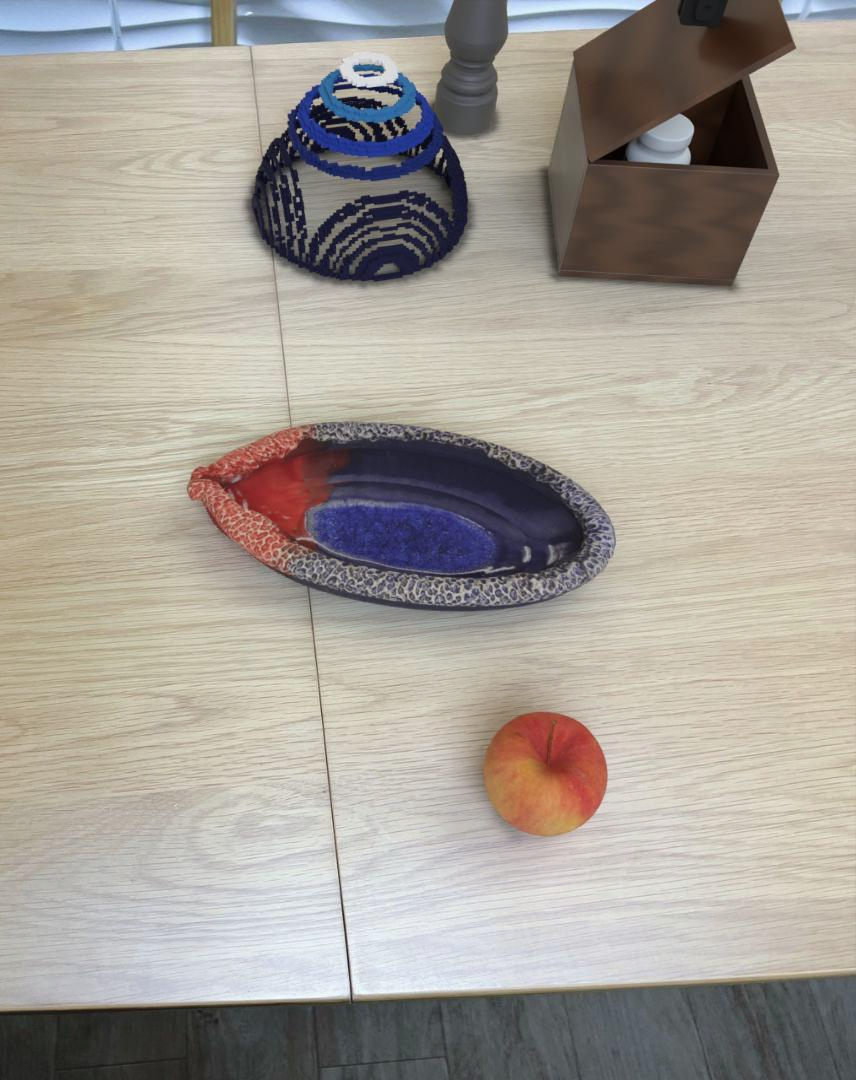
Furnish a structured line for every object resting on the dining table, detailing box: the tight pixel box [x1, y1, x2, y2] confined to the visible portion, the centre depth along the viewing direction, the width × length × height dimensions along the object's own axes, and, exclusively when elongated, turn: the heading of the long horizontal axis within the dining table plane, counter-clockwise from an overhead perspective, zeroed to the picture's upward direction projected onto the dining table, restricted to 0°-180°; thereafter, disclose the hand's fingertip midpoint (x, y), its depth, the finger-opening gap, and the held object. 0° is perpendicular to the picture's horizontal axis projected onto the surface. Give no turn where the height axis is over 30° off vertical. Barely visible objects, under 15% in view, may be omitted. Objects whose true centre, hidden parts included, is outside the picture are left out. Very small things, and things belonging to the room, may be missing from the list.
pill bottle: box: [623, 114, 694, 165], centre depth 99 cm, size 6×6×10 cm
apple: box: [482, 711, 609, 837], centre depth 66 cm, size 7×7×8 cm
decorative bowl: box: [251, 50, 469, 283], centre depth 98 cm, size 20×20×14 cm
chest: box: [547, 58, 780, 287], centre depth 98 cm, size 16×16×12 cm
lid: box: [572, 0, 797, 163], centre depth 89 cm, size 16×16×1 cm
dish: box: [186, 421, 617, 612], centre depth 79 cm, size 16×31×5 cm, turn 78°
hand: (697, 20), depth 87 cm, fingers closed
